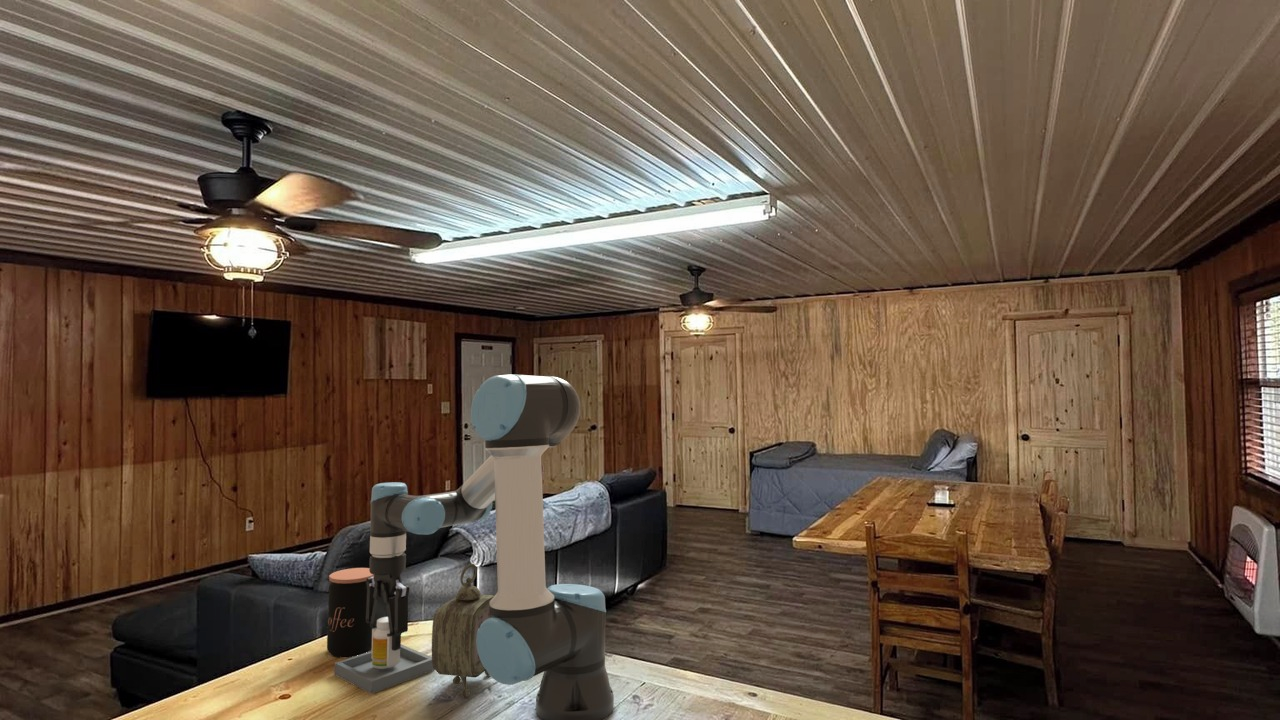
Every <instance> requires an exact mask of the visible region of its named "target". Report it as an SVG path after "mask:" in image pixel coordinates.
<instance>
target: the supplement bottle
mask: <svg viewBox="0 0 1280 720" xmlns="http://www.w3.org/2000/svg"><path fill="white" fill-rule="evenodd" d="M377 628H378V629H376V630H375V631H374V633H373V656H372V665H373V667H374V668H377V669H386V668H390V667H393V666H395V665H397V664H395V665H392V666H389V667H388V666H387V634H389V633H390V630H389V622H388V616H384V617H383V618H379V619H378V620H377Z"/></svg>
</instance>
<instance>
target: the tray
mask: <svg viewBox="0 0 1280 720" xmlns="http://www.w3.org/2000/svg"><path fill="white" fill-rule="evenodd" d="M371 656H372V650H370V651H369V652H367V653H364V654H361V655H358V656H354V657H347V658H345V659H342V660H339V661H336V662H334V673H333V674H334V675H335V676H336V677H337V678H338V677H339V678H340V679H342V680H343V681H345V680H346V682H347V681H348V683H349V682H350V683H349V684H351V683H352V685H353V684H354V685H353V686H355V687H357V688H359V689H361V690H363V691H365V692H367V693H369V694H370V695H372V694H375V693H378V692H380V691H383V690H386V689H389V688H392V687H394V686H397V685H399V684H402V683H405V682H407V681H409V680H410V681H411V680H412V679H414V678H415V679H416V678H417V677H420V676H422V675H425V674H427V673H431V672H433V671H436V670H435V669H434V668H433V665H432V656H430V655H428V654H426V653H422V652H420V651H418V650H416V649H413V648H411V647H408V646H406V645H404V644H402V643H401V647H400V663H398V664H397V665H395V666H393V667H390V668H386V669H377V668H374V667H373V665H372V659H371Z"/></svg>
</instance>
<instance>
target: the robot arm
mask: <svg viewBox="0 0 1280 720" xmlns="http://www.w3.org/2000/svg"><path fill="white" fill-rule="evenodd" d="M580 417H581V401H580V397H579V395H578V393H577V391H576V389H575V388H574V386H573V385H571V384H570V383H569V381H567V380H564V379H563V378H560V377H558V376H553V375H552V376H551V375H544V376H543V375H527V374H515V373H514V374H511V373H510V374H502V375H501V374H500V375H499V374H497V375H493V376H491V377H489V378H487V379H486V380H485V381H483V383H482V384H480V386H479V388H478V389H477V390H476V391H475V393H474V396H473V399H472V402H471V407H470V422H471V425H472V427H473V429H475V430H474V432H475V434H476V435H478V437H479V438H481V439H483V440H484V442H485V443H484V444H485V445H484V446H485V448H484V449H485V451H486V452H488V454H490V456H489V457H488V458H487V459H486V460H485V461H484V462H483V463H482V464H481V465H480V466H479V467H478V468H477V469H476V470H475V471H474V472H473V474H471V475H470V476H469V478H467V480H465V482H464V483H463V484H461V486H459V488H458V489H456V490H453V491H446V492H439V493H438V492H437V493H432V494H431V493H430V494H423V495H411V494H409V492H408V486H407V484H406V483H405V482H398V481H397V482H396V481H395V482H380V483H377V484H374V485H373V487H372V488H371V498H370V503H369V504H370V537H369V553H370V555H371V556H370V557H369V565H368V566H369V567H368V568H369V571H370V573H371V574H373V575H374V577H370V578H367V579H366V584H367V604H366V622H367V623H370V627H371V628H372V649H371V651H372V656H373V633H374V631H375V630H376V629H378V628H377V620H378V619H379V618H383V617H385V613H387V617H388V622H389V630H390V633H389V634H387V666H388V667H389V666H392V665H395V664H398V663H400V647H401V644H402V643H401V640H402V634H404V633H406V632H408V631H409V594H410V586H409V585H404V584H403V583H402V577H401V575H402V572H404V571H406V567H407V566H406V564H407V553H405V551H407V547H406V546H407V532H408V533H412V534H415V535H432V534H434V533H435V532H437V531H439V530H440V529H441V528H447V527H451V526H452V527H453V526H457V525H463V524H473V523H476V522H479V521H481V520H485V519H486V518H488V517H489V516H490V514H491V510H492V508H493V501H495V536H496V537H495V538H496V564H497V565H496V569H497V570H496V572H497V573H496V574H497V575H496V576H497V592H496V593H495V594H494V595H493V596H494V597H493V598H492V599H491V601H490V618H488V619H487V620H485V621H484V622H483V623H482V624H481V625H480V628H479V629H478V631H477V636H476V646H477V651H478V655H479V658H480V661H481V663H482V665H483V667H484V668H485V669H486V670H487V672H488V674H489V675H488V676H490V677H491V678H492V679H493V680H494V681H496V682H498V683H500V684H502V685H505V686H511V685H517V684H518V683H521V682H525V681H530V680H531V679H532V678H533V677H535V676H538V675H539V674H541V673H543V674H542V677H541V680H540V681H541V682H540V686H539V689H538V691H537V692H536V693H537V694H536V697H535V713H536V715H537V716H538V717H539V718H540V719H541V720H604V719H606V718H607V717H608V716H609V715H611V713H613V710H614V706H615V705H614V704H615V703H614V701H615V697H614V691H613V689H612V687H611V684H610V680H609V675H608V672H607V669H606V668H607V667H606V617H607V616H606V615H607V614H606V613H607V609H606V597H605V596H606V595H605V594H604V592H602V590H601V589H600V588H597V587H595V586H589V585H584V584H578V583H577V584H576V583H558V584H552V585H550V586H548V587H547V584H546V558H545V557H546V555H545V553H546V552H545V533H544V532H545V530H544V529H545V528H544V527H545V526H544V498H543V471H542V470H543V469H542V465H543V464H542V456H543V454H544V453H545V451H547V449H548V448H555V447H558V446H559V445H560V444H562V442H563V441H564V440H565V439H566V438H567V437H568V436H569V435H570V434H571V433H572V431H574V429H575V428H576V426H577V424H578V422H579V418H580ZM373 587H374V588H373ZM386 611H387V612H386ZM371 615H372V616H371ZM372 656H371V659H372Z"/></svg>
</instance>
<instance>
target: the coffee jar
mask: <svg viewBox="0 0 1280 720" xmlns="http://www.w3.org/2000/svg"><path fill="white" fill-rule="evenodd" d="M370 577H374V575H373V574H371V573H370V571H369V567H351V568H347V569H346V568H345V569H341V570H337V571H334V572H332V573H330V574H329V575H328V579H329V582H330V584H329V586H328V598H327V600H328V601H327V603H328V605H327V630H326V631H327V632H326V633H327V634H326V635H327V637H326V649H327V652H328V654H329V655H330V656H332V657H334V658H340V657H346V658H351V657H352V656H354V657H355V656H357V655H361V654H364V653H366V652H368V651H369V652H370V651H372V628H371V627H370V623H367V622H366V604H367V584H366V579H367V578H370ZM373 588H374V587H373ZM371 616H372V615H371Z"/></svg>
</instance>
